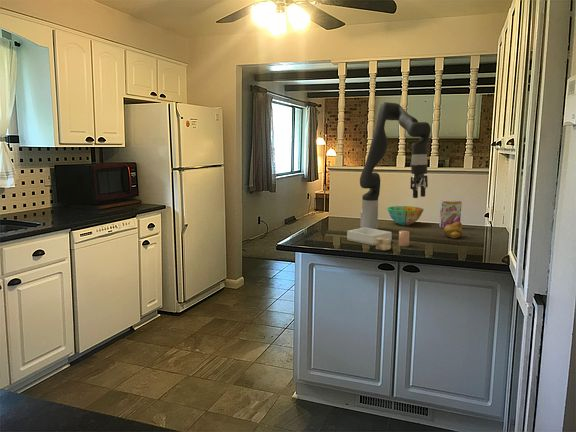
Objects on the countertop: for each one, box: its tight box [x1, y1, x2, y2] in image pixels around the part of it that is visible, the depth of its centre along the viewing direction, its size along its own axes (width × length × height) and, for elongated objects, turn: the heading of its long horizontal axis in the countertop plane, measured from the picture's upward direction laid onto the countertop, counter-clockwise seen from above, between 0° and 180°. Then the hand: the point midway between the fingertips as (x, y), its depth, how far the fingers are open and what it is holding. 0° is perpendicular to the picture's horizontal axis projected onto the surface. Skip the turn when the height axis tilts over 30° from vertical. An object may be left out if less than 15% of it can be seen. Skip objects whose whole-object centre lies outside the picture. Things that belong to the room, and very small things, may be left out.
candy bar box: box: [439, 199, 462, 229], centre depth 274 cm, size 11×5×16 cm, turn 84°
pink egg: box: [398, 230, 410, 247], centre depth 229 cm, size 5×5×7 cm
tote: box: [346, 227, 393, 246], centre depth 239 cm, size 18×15×5 cm
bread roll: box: [443, 221, 463, 239], centre depth 249 cm, size 13×10×8 cm
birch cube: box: [375, 237, 392, 251], centre depth 222 cm, size 5×5×5 cm
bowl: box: [386, 205, 425, 226], centre depth 287 cm, size 22×22×10 cm
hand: (419, 197), depth 225 cm, fingers open, 8 cm apart
